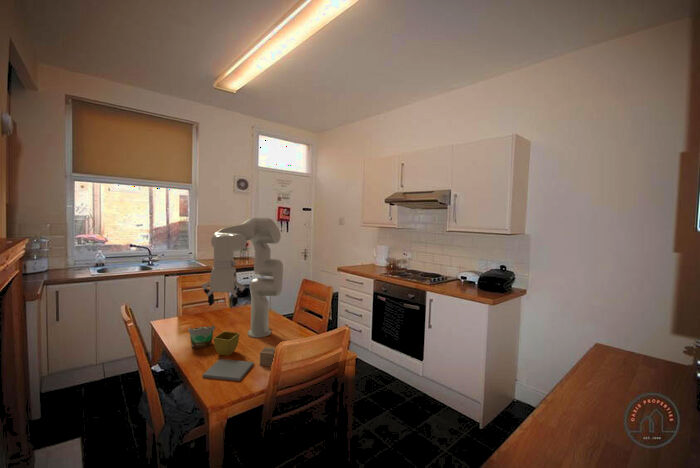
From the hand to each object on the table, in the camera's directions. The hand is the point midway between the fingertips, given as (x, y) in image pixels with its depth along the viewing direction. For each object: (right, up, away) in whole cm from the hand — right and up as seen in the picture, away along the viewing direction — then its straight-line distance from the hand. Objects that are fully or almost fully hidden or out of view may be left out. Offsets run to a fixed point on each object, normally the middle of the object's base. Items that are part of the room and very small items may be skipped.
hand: (223, 305), depth 132 cm
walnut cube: (+16, -30, +14) cm, 36 cm away
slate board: (+1, -30, +5) cm, 30 cm away
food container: (-21, -27, +26) cm, 44 cm away
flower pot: (-7, -28, +21) cm, 36 cm away
